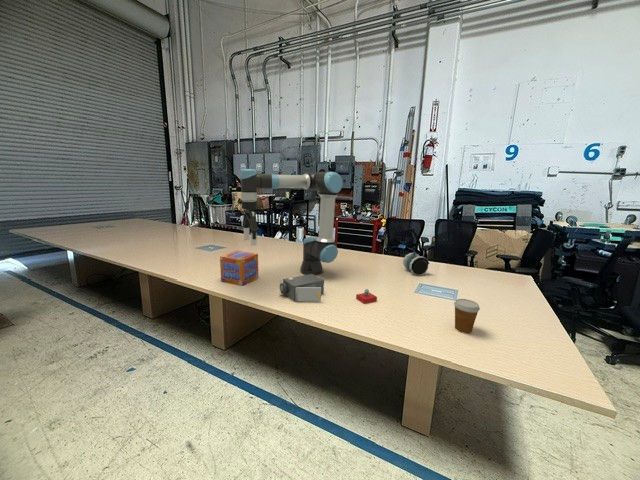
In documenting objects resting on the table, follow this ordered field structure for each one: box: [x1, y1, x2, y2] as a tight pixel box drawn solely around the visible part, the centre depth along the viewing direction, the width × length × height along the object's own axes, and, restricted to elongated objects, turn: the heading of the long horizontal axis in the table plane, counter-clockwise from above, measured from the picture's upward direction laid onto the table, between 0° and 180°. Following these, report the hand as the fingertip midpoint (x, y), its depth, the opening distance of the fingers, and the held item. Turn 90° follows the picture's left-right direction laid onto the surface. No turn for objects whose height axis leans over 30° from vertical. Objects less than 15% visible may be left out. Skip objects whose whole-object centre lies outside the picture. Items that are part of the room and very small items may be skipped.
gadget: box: [402, 251, 430, 276], centre depth 190 cm, size 14×13×15 cm
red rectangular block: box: [355, 288, 378, 305], centre depth 144 cm, size 8×7×6 cm
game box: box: [219, 250, 259, 287], centre depth 166 cm, size 16×16×16 cm
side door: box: [294, 287, 322, 302], centre depth 139 cm, size 13×2×7 cm, turn 94°
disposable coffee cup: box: [453, 298, 481, 334], centre depth 116 cm, size 10×10×12 cm
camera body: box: [279, 274, 325, 302], centre depth 148 cm, size 21×12×9 cm, turn 124°
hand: (250, 242), depth 144 cm, fingers open, 13 cm apart
